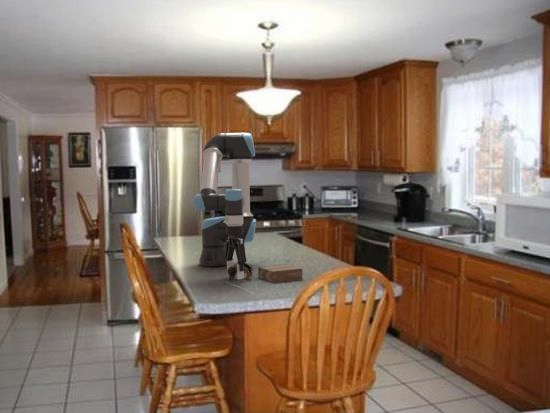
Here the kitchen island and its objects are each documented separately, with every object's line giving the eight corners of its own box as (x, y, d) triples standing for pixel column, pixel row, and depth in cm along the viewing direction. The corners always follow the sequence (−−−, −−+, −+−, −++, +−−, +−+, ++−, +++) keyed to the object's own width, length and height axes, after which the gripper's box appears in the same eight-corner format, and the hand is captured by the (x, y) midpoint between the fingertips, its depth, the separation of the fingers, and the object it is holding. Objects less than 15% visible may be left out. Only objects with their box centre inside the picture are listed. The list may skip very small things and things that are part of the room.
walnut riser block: (258, 278, 245) (258, 267, 245) (286, 275, 251) (286, 264, 251) (273, 283, 232) (273, 271, 232) (302, 280, 239) (302, 268, 239)
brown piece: (236, 276, 248) (245, 260, 247) (250, 288, 243) (259, 272, 242) (218, 274, 239) (227, 258, 238) (232, 286, 233) (241, 270, 232)
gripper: (215, 224, 248) (217, 274, 249) (237, 227, 228) (238, 281, 229) (231, 223, 251) (232, 273, 252) (254, 226, 232) (255, 280, 233)
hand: (235, 277), depth 241 cm, fingers closed on brown piece, 9 cm apart
